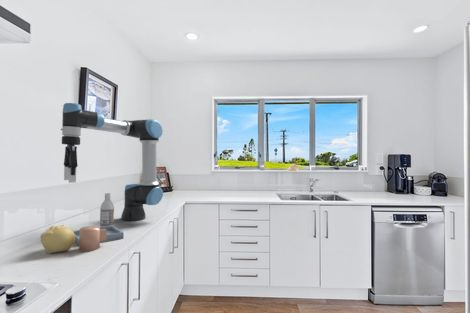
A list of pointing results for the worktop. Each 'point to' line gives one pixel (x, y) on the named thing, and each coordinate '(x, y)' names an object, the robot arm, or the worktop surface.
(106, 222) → the bath foam
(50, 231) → the sculpture
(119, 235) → the tray
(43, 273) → the worktop surface
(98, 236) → the peach tabbed round part
